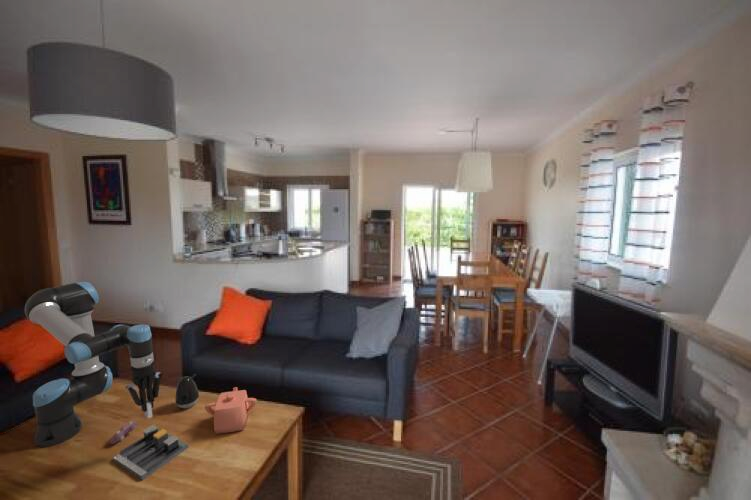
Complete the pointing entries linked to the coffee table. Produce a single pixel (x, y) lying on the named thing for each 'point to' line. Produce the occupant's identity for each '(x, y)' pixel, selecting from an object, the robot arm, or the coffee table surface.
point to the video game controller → (123, 432)
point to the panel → (149, 453)
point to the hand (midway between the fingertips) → (148, 416)
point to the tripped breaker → (160, 438)
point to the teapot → (231, 411)
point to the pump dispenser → (186, 392)
